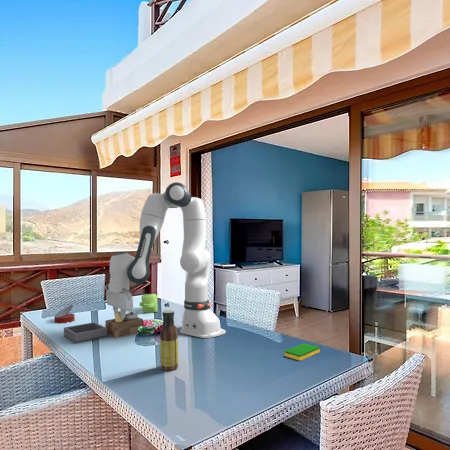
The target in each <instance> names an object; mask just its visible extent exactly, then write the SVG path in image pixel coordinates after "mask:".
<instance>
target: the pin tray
mask: <svg viewBox="0 0 450 450" xmlns="http://www.w3.org/2000/svg"><path fill="white" fill-rule="evenodd" d="M63 337H64V338H65V339H67V340H68V341H70V342H71V343H73V344H75V345H76V344H80V343H85V342H89V341H95V340H98V339H104V338H107V337H108V334H107V328H106V327H105V326H104V325H101V324H99V323H97V322H94V321H93V322H88V323H82V324H77V325H71V326H66V327H63Z"/></svg>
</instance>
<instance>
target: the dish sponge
mask: <svg viewBox="0 0 450 450" xmlns="http://www.w3.org/2000/svg"><path fill="white" fill-rule="evenodd" d="M320 348H321V347H320V346H317V345H313V344H310V343H302V344H299V345H296V346H294V347H290V348H289V349H286V350H284V357H287V358H290V359H293V360H296V361H299V362H300V361H303V360H305V359H307V358H311V357H312V356H315V355H317V354H319V353H320V352H321V351H320V350H321V349H320Z"/></svg>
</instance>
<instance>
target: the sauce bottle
mask: <svg viewBox="0 0 450 450" xmlns="http://www.w3.org/2000/svg"><path fill="white" fill-rule="evenodd" d="M174 319H175V311H174V310H172V309H167V310H163V311H162V327H161V331H160V333H159V348H160V349H159V355H160V356H159V357H160V358H159V359H160V368H161V369H162V370H164V371H174V370H176V369H178V367H179V337H178V336H179V335H178V329H177V326H176V325H175V320H174Z"/></svg>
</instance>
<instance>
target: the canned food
mask: <svg viewBox="0 0 450 450" xmlns="http://www.w3.org/2000/svg"><path fill="white" fill-rule="evenodd" d="M73 306H74V304H71V305H68V306H66V307H65V308H63V309H61V310H60V311H58V312H57V313H56V314H55V315H54V316H53V317H54V320H53V322H54V323H55V324H68V323H67V322H69V323H72V321H73V322H75V320H76V319H75V313H70V312H71V310H72V309H73Z"/></svg>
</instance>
